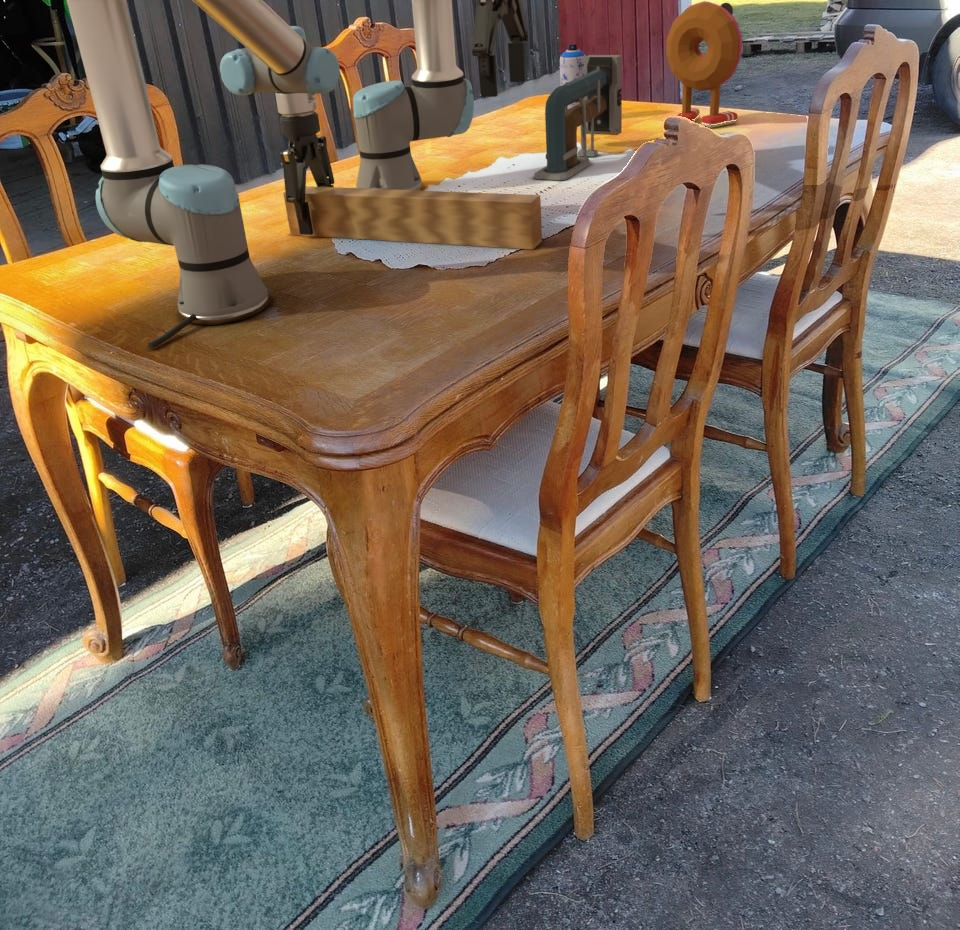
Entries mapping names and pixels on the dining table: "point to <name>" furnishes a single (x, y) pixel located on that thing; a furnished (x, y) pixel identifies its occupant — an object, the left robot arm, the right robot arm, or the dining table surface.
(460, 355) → the dining table surface
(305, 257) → the dining table surface
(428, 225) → the beam
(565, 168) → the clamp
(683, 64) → the toy
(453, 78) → the right robot arm
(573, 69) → the aerosol can
